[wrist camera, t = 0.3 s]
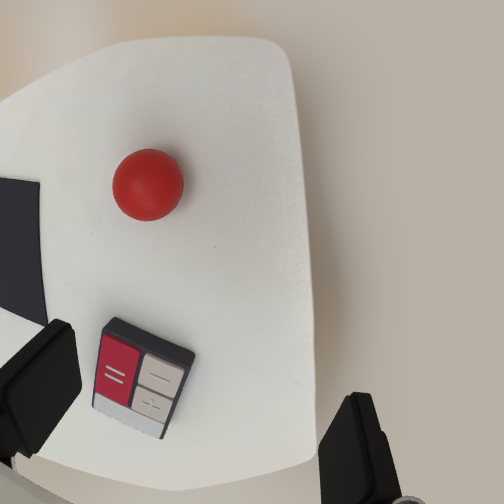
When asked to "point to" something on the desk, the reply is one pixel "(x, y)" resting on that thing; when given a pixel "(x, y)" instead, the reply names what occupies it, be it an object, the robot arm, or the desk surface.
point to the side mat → (21, 251)
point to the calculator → (139, 377)
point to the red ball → (148, 185)
